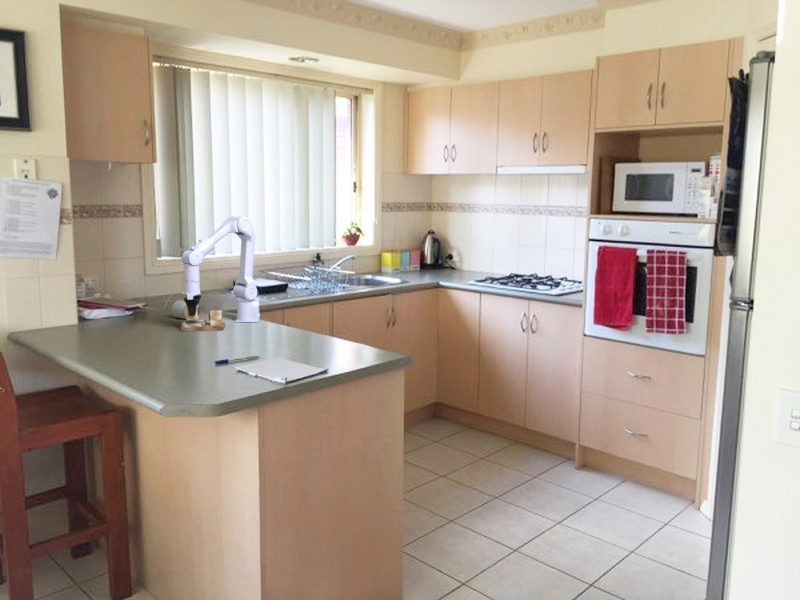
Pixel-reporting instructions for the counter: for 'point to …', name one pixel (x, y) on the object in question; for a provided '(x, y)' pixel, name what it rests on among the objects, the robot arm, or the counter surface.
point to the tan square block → (195, 314)
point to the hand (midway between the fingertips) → (193, 314)
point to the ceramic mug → (180, 309)
